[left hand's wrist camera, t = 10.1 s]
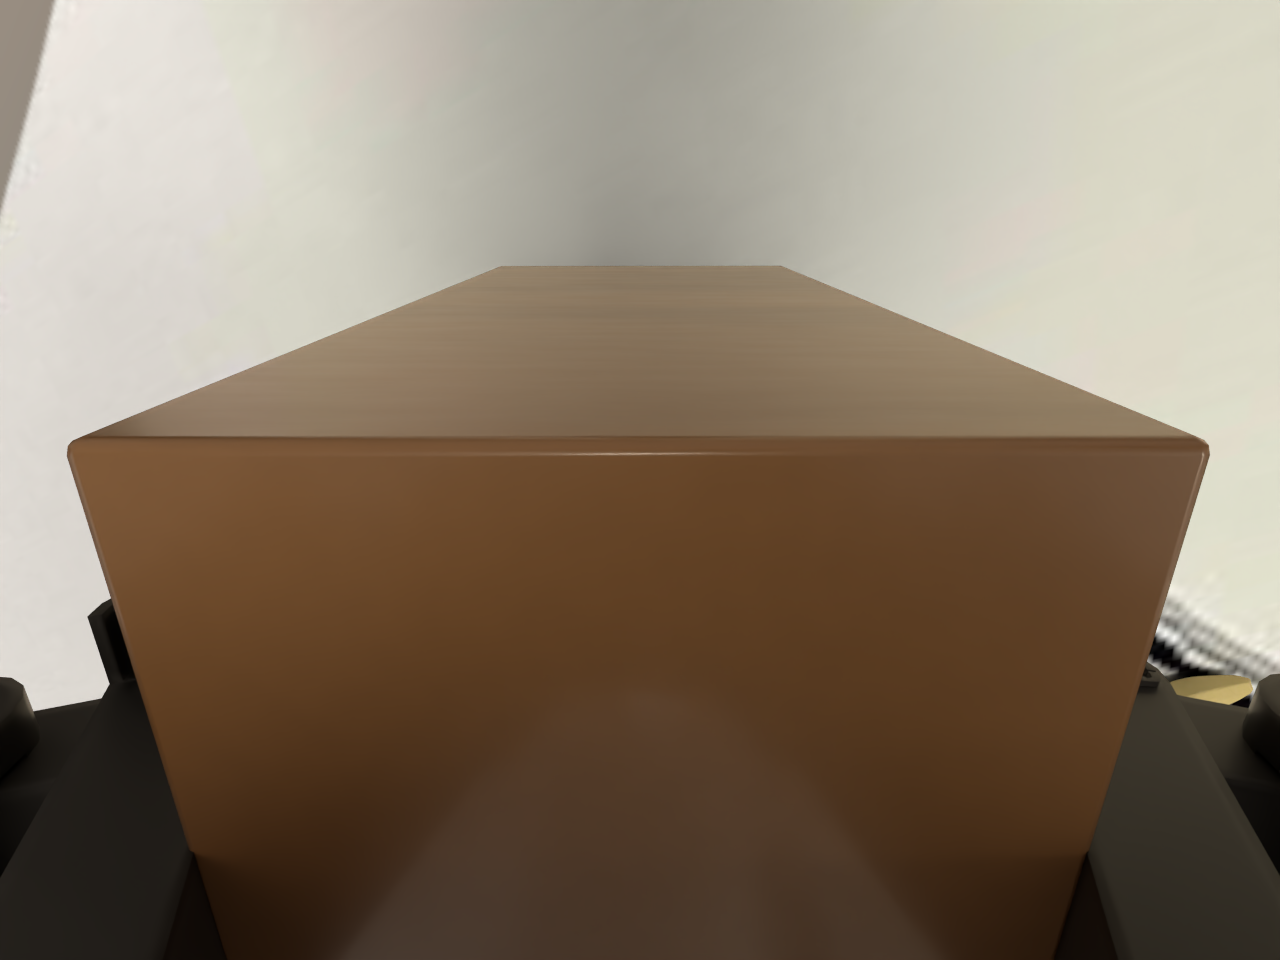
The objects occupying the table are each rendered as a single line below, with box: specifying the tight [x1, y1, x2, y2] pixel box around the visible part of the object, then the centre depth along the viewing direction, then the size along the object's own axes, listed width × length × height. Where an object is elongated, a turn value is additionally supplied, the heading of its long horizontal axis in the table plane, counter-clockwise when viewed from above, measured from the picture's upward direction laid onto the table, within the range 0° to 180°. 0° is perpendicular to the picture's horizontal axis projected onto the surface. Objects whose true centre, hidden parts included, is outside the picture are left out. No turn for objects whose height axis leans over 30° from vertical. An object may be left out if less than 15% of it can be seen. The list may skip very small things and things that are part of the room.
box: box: [67, 266, 1210, 960], centre depth 14 cm, size 25×6×13 cm, turn 0°
